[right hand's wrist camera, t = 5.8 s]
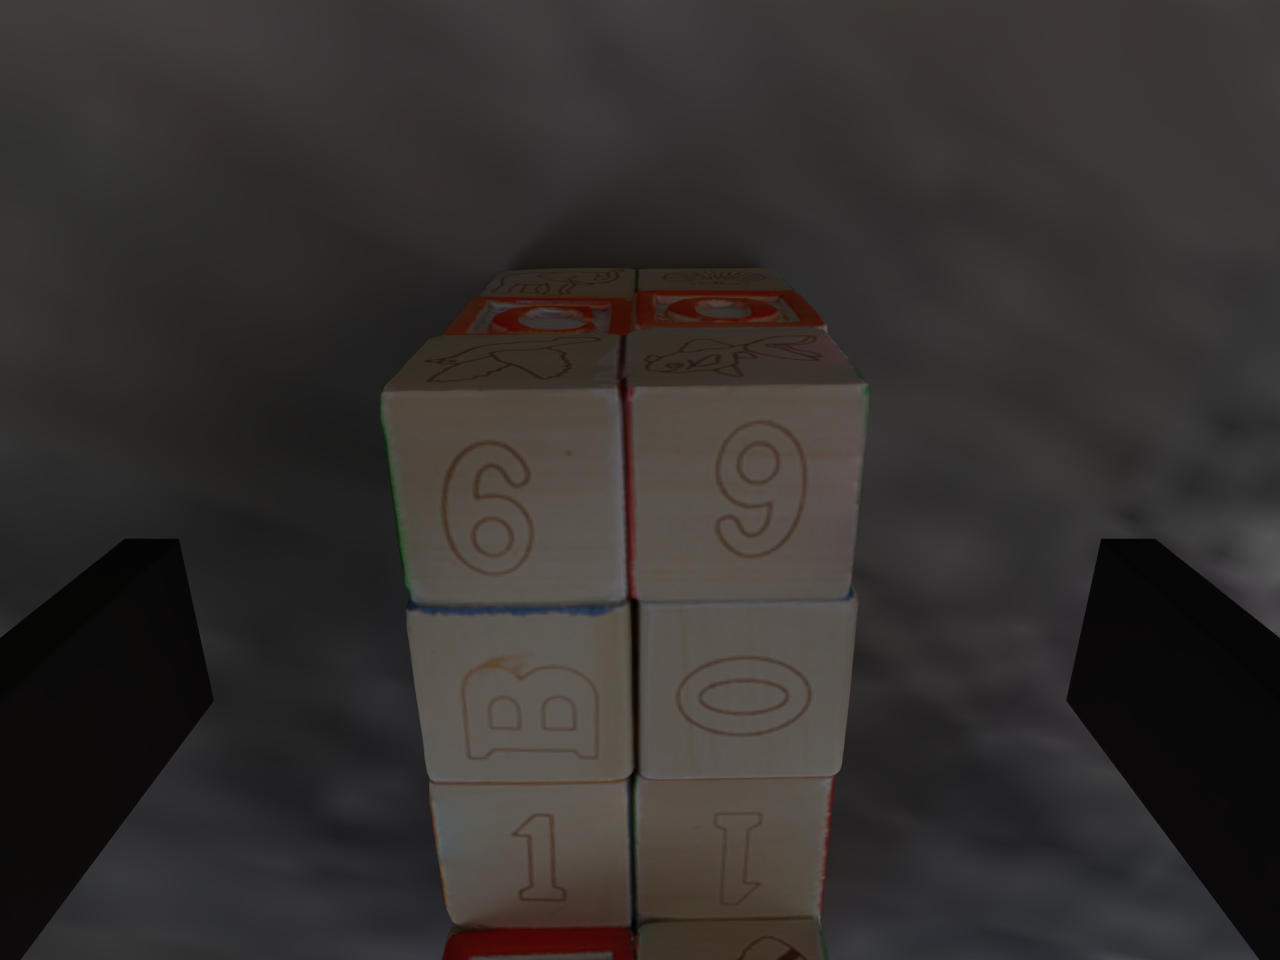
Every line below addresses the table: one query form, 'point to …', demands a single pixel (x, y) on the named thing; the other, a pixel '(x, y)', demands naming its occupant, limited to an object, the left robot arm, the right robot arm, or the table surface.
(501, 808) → the stack of blocks
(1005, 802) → the table surface
